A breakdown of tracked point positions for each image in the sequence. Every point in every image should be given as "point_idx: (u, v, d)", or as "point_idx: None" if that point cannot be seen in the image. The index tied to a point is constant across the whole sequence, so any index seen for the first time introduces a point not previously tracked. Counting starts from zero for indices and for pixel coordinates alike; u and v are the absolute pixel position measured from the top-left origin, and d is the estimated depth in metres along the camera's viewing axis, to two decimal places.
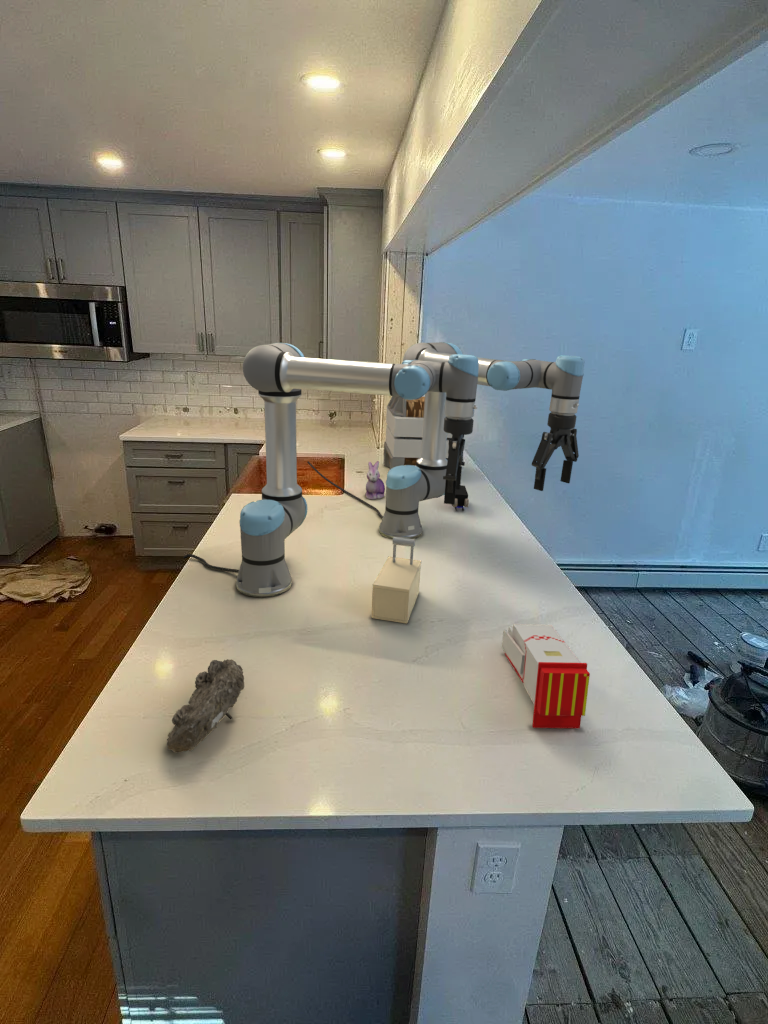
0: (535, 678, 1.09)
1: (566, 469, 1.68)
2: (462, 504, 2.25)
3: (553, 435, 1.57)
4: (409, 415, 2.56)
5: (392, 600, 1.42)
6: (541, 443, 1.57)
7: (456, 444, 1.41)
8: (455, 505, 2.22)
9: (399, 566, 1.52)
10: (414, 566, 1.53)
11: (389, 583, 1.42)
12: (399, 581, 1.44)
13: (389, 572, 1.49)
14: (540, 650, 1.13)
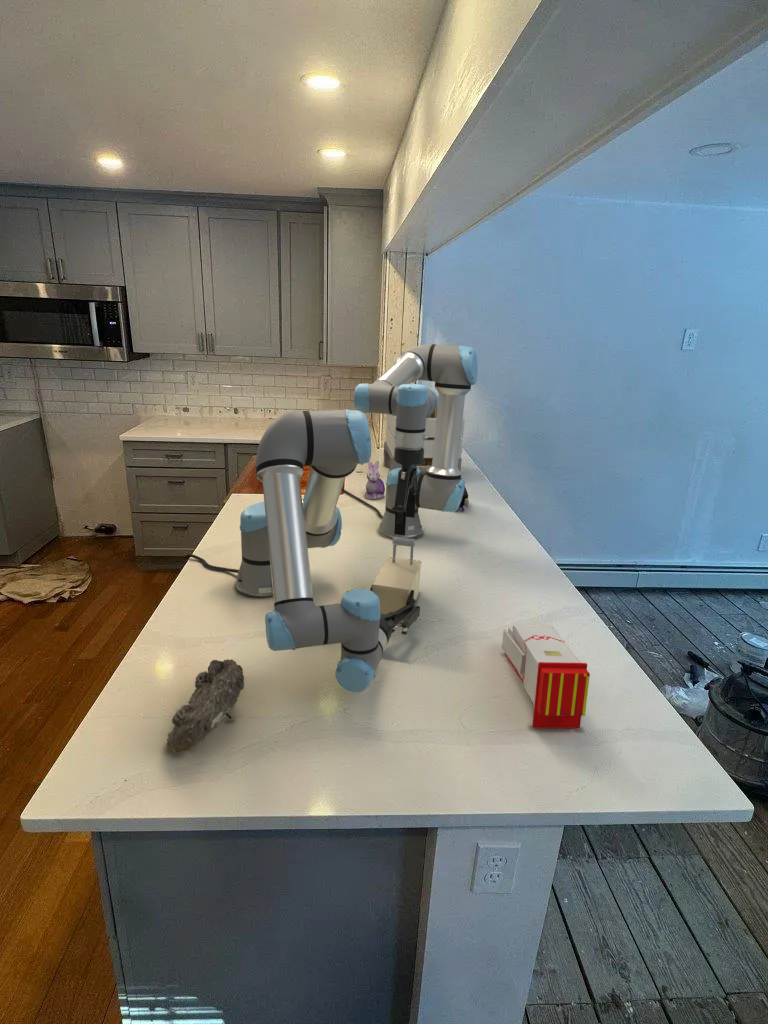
0: (535, 678, 1.09)
1: (410, 503, 1.55)
2: (462, 504, 2.25)
3: None
4: None
5: (392, 600, 1.42)
6: (399, 484, 1.39)
7: None
8: None
9: (399, 566, 1.52)
10: (414, 566, 1.53)
11: (389, 583, 1.42)
12: (399, 581, 1.44)
13: (389, 572, 1.49)
14: (540, 650, 1.13)
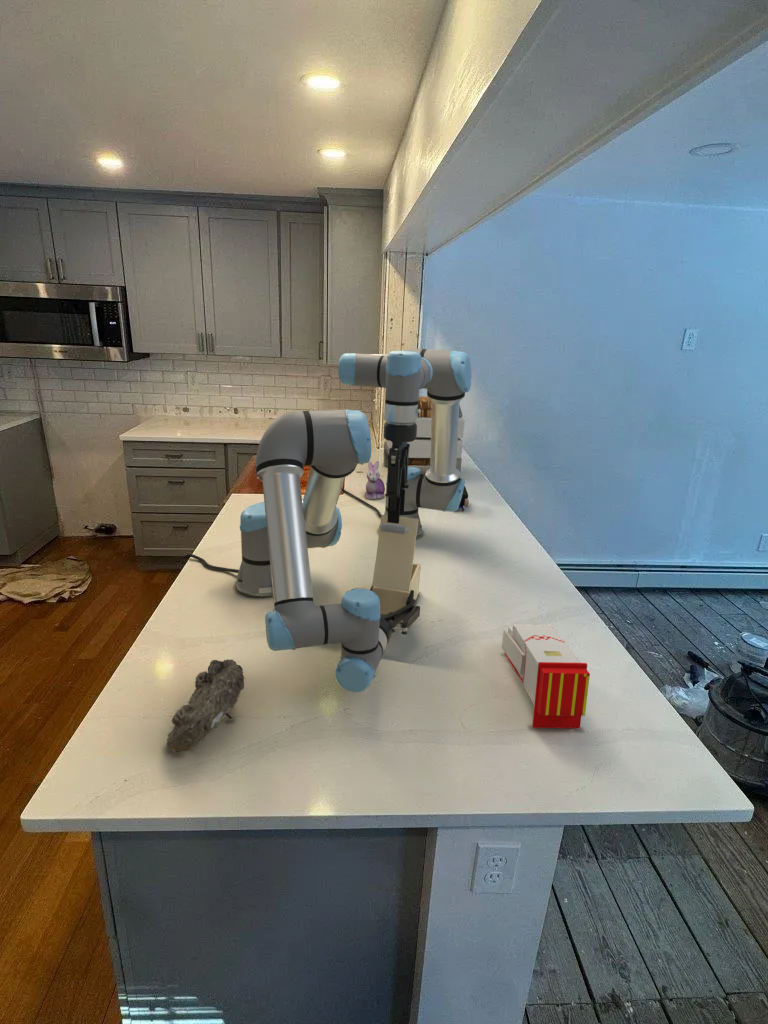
0: (535, 678, 1.09)
1: None
2: (462, 504, 2.25)
3: (398, 451, 1.26)
4: None
5: (392, 600, 1.42)
6: (390, 469, 1.26)
7: None
8: None
9: (395, 539, 1.41)
10: (411, 536, 1.40)
11: (388, 582, 1.41)
12: (397, 575, 1.40)
13: (385, 555, 1.41)
14: (540, 650, 1.13)
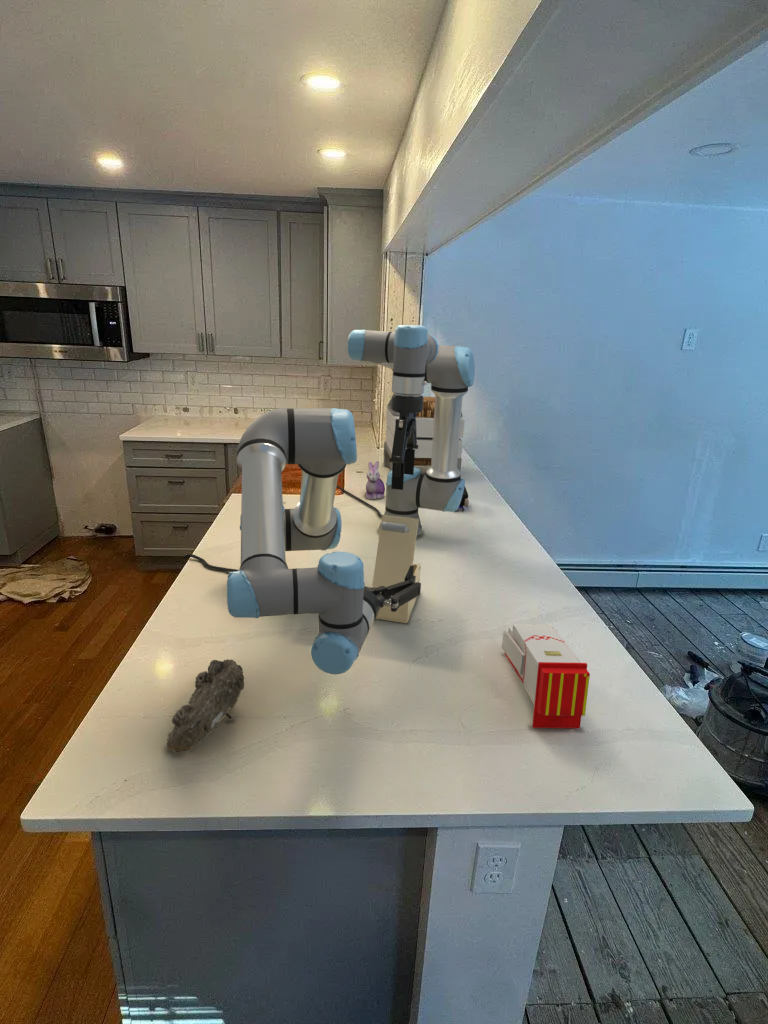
0: (535, 678, 1.09)
1: (408, 459, 1.45)
2: (462, 504, 2.25)
3: None
4: None
5: None
6: (396, 433, 1.29)
7: None
8: None
9: (395, 538, 1.42)
10: (411, 535, 1.41)
11: (388, 581, 1.41)
12: (398, 574, 1.41)
13: (386, 555, 1.42)
14: (540, 650, 1.13)
